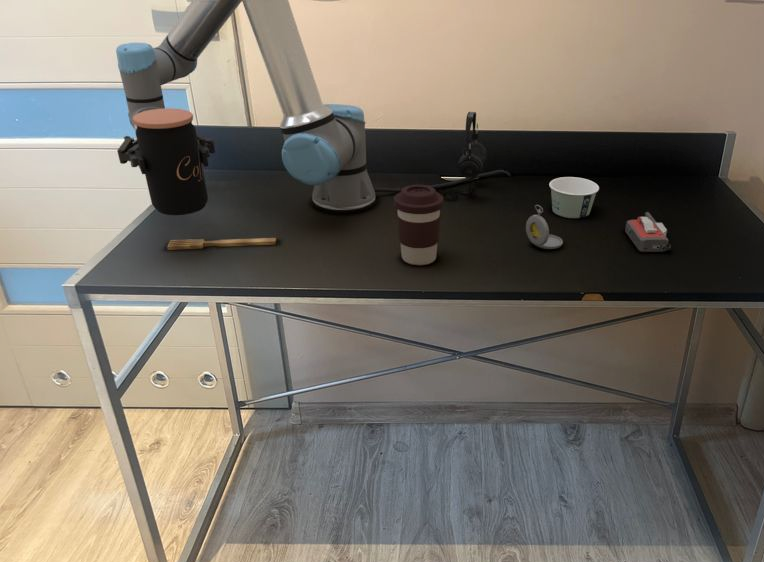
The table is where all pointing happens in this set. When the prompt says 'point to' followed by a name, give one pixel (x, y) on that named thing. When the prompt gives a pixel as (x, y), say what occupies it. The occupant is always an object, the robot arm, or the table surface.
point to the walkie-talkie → (648, 234)
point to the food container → (572, 196)
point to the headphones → (471, 153)
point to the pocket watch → (541, 232)
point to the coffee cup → (418, 223)
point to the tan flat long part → (218, 243)
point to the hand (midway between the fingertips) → (174, 163)
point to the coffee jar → (171, 160)
